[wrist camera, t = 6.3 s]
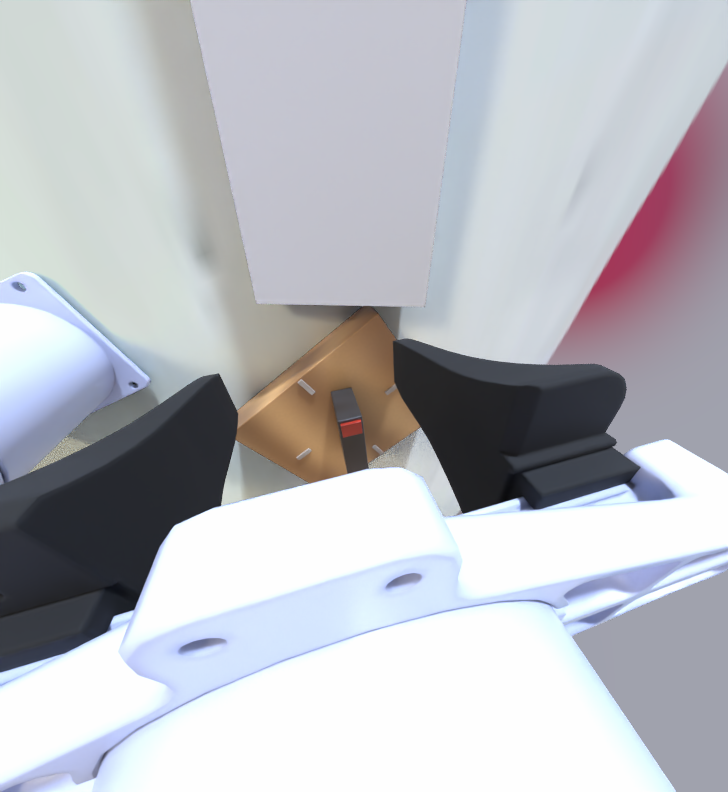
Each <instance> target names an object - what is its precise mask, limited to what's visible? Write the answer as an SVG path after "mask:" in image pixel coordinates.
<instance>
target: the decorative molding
mask: <svg viewBox="0 0 728 792" xmlns="http://www.w3.org/2000/svg"><path fill="white" fill-rule="evenodd" d="M466 1H467V0H190V3H191V7H192V12H193V16H194V21H195V26H196V30H197V35H198V39H199V44H200V49H201V53H202V58H203V62H204V67H205V71H206V76H207V81H208V85H209V90H210V94H211V99H212V103H213V108H214V113H215V117H216V122H217V126H218V131H219V135H220V140H221V145H222V149H223V154H224V158H225V163H226V167H227V172H228V177H229V181H230V186H231V190H232V195H233V200H234V204H235V209H236V213H237V218H238V222H239V227H240V232H241V236H242V241H243V245H244V250H245V254H246V259H247V264H248V268H249V273H250V277H251V282H252V286H253V291H254V296H255V300H256V304H291V305H343V306H395V307H425V304H426V296H427V289H428V282H429V274H430V267H431V259H432V252H433V245H434V237H435V230H436V223H437V215H438V208H439V200H440V193H441V186H442V178H443V171H444V164H445V156H446V149H447V141H448V134H449V127H450V119H451V112H452V104H453V97H454V90H455V82H456V75H457V68H458V60H459V53H460V45H461V38H462V31H463V23H464V16H465V9H466Z"/></svg>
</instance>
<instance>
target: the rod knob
mask: <svg viewBox="0 0 728 792" xmlns="http://www.w3.org/2000/svg"><path fill="white" fill-rule="evenodd" d="M331 397H332V402H333V407H334V412H335V417H336V422H337V427H338V432H339V437H340V442H341V447H342V452H343V456H344V461H345V465H346V470H347V474H349V473H353V472H357V471H361V470H365V469H369V467H368V459H367V451H366V443H365V435H364V427H363V419H362V414H361V412H360V409H359V406H358V404H357V401H356V398H355V395H354V393H353V390H352V388H346V389H341V390H336V391H331Z"/></svg>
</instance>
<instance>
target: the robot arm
mask: <svg viewBox="0 0 728 792" xmlns="http://www.w3.org/2000/svg"><path fill="white" fill-rule="evenodd" d="M18 282H19V283H21V284H23V285H24V286H25V287H26V290H24V289H22V288H21V287H20V286H19V284H18ZM393 364H394V382H395V385H396V387H397V389H398V391H399V393H400V396H401V398H402V399H403V401H404V402H405V404H406V406H407V407H408V409H409V410H410V412H411V413H412V415H413V416H414V418H415V419H416V421H417V422H418V424H419V425H420V427H421V428H422V430H423V431H424V433H425V434H426V436H427V438H428V439H429V441H430V443H431V445H432V447H433V449H434V451H435V453H436V455H437V457H438V459H439V461H440V463H441V466H442V468H443V470H444V472H445V474H446V476H447V478H448V481H449V483H450V485H451V487H452V490H453V492H454V494H455V496H456V499H457V501H458V503H459V506H460V508H461V511H462V513H463V514H461V515H458V516H449V517H443V516H442V514H441V512H440V510H439V508H438V506H437V504H436V502H435V500H434V498H433V497H432V495H431V493H430V491H429V489H428V487H427V485H426V483H425V481H424V479H423V477H421V476H419V475H417V474H414V473H412V472H410V471H407V470H405V469H403V468H400V467H389V468H375V469H365V470H361V471H357V472H353V473H349V474H345V475H341V476H337V477H333V478H329V479H325V480H322V481H318V482H314V483H310V484H306V485H302V486H298V487H294V488H290V489H286V490H282V491H278V492H274V493H270V494H266V495H262V496H258V497H254V498H250V499H246V500H242V501H239V502H235V503H231V504H227V505H223V506H221V501H222V494H223V488H224V483H225V479H226V475H227V471H228V467H229V463H230V459H231V455H232V452H233V448H234V444H235V440H236V435H237V427H238V412H237V410H236V408H235V406H234V404H233V402H232V400H231V397H230V395H229V393H228V391H227V389H226V387H225V385H224V383H223V381H222V379H221V377H220V375H219V374H214V375H208V376H203V377H201V378H199V379H197V380H195V381H193V382H192V383H190V384H189V385H187V386H186V387H184V388H183V389H181V390H180V391H179V392H177V393H176V394H174V395H173V396H171V397H170V398H169V399H167V400H166V401H164V402H163V403H161V404H160V405H158V406H157V407H155V408H154V409H152V410H151V411H149V412H148V413H146V414H145V415H143V416H142V417H140V418H139V419H137V420H135V421H134V422H132V423H130V424H129V425H127V426H125V427H124V428H122V429H120V430H118V431H117V432H115V433H113V434H111V435H109V436H107V437H106V438H104V439H102V440H100V441H98V442H96V443H94V444H92V445H90V446H88V447H86V448H84V449H82V450H80V451H77V452H75V453H73V454H71V455H69V456H67V457H65V458H63V459H61V460H59V461H56V462H54V463H52V464H50V465H47V466H45V467H43V468H40V469H38V470H36V471H33V472H31V473H29V472H30V471H31V470H32V469H33V468H34V467H35V466H36V465H37V464H38V463H39V462H40V461H41V460H42V459H43V458H44V457H45V456H46V455H48V454H49V453H50V452H51V451H52V450H53V449H54V448H55V447H56V446H57V445H58V444H59V443H60V442H61V441H62V440H63V439H64V438H65V437H66V436H67V435H68V434H69V433H70V432H71V431H72V430H74V429H75V428H76V427H77V426H78V425H79V424H80V423H81V422H82V421H83V420H84V419H85V418H86V417H87V416H88V415H89V414H91V413H93V412H95V411H97V410H99V409H101V408H103V407H106V406H108V405H110V404H112V403H114V402H116V401H118V400H120V399H123V398H125V397H127V396H129V395H131V394H133V393H135V392H137V391H139V390H142V389H144V388H146V387H147V386H148V385H149V384H150V382H151V380H150V378H149V377H148V376H147V375H146V374H145V373H144V372H143V371H141V370H140V369H139V368H138V367H137V366H136V365H135V364H134V363H133V362H132V361H131V360H129V359H128V358H127V357H126V356H125V355H124V354H123V353H122V352H121V351H120V350H119V349H117V348H116V347H115V346H114V345H113V344H112V343H111V342H110V341H109V340H108V339H107V338H105V337H104V336H103V335H102V334H101V333H100V332H99V331H98V330H97V329H96V328H95V327H93V326H92V325H91V324H90V323H89V322H88V321H87V320H86V319H85V318H84V317H83V316H81V315H80V314H79V313H78V312H77V311H76V310H75V309H74V308H73V307H72V306H71V305H69V304H68V303H67V302H66V301H65V300H64V299H63V298H62V297H61V296H60V295H59V294H57V293H56V292H55V291H54V290H53V289H52V288H51V287H50V286H49V285H48V284H47V283H45V282H44V281H43V280H42V279H41V278H40V277H38V276H37V275H35V274H33V273H30V272H23V273H18V274H16V275H14V276H11V277H9V278H7V279H5V280H3V281H1V282H0V792H676V791H675V789H674V788H673V786H672V785H671V783H670V782H669V780H668V779H667V777H666V776H665V775H664V773H663V772H662V770H661V769H660V767H659V766H658V764H657V763H656V761H655V760H654V758H653V757H652V755H651V754H650V752H649V751H648V749H647V748H646V747H645V745H644V743H643V742H642V740H641V739H640V737H639V736H638V735H637V733H636V732H635V730H634V729H633V727H632V726H631V724H630V723H629V721H628V720H627V718H626V717H625V715H624V714H623V712H622V711H621V709H620V708H619V706H618V705H617V704H616V702H615V700H614V699H613V697H612V696H611V695H610V693H609V692H608V690H607V689H606V687H605V686H604V684H603V683H602V681H601V680H600V678H599V677H598V675H597V674H596V672H595V671H594V669H593V668H592V666H591V665H590V663H589V662H588V661H587V659H586V657H585V656H584V655H583V653H582V652H581V650H580V649H579V647H578V646H577V644H576V643H575V641H574V640H573V638H572V637H571V636H573V635H576V634H578V633H580V632H582V631H585V630H587V629H589V628H592V627H594V626H596V625H599V624H601V623H603V622H605V621H608V620H610V619H612V618H614V617H617V616H619V615H621V614H624V613H626V612H628V611H631V610H633V609H635V608H637V607H640V606H642V605H644V604H647V603H649V602H652V601H654V600H656V599H659V598H661V597H663V596H666V595H668V594H671V593H673V592H676V591H678V590H680V589H683V588H685V587H687V586H690V585H693V584H695V583H697V582H700V581H703V580H705V579H708V578H710V577H713V576H716V575H718V574H721V573H723V572H724V571H726V570H728V474H727V473H725V472H724V471H722V470H720V469H719V468H717V467H715V466H713V465H711V464H710V463H708V462H706V461H705V460H703V459H701V458H699V457H698V456H696V455H694V454H693V453H691V452H689V451H687V450H685V449H684V448H682V447H680V446H679V445H677V444H675V443H674V442H672V441H670V440H661V441H657V442H653V443H650V444H646V445H643V446H639V447H636V448H633V449H631V450H629V451H628V452H626V453H625V454H624V455H622V454H621V453H620V452H618V451H617V450H615V449H614V448H613V447H612V446H615V444H616V443H617V442H616V439H614V438H613V437H611V436H610V435H608V434H607V433H605V432H606V430H607V429H608V427H609V425H610V424H611V422H612V420H613V419H614V417H615V415H616V414H617V412H618V410H619V409H620V407H621V404H622V403H623V401H624V398H625V394H626V383H625V379H624V378H623V377H622V376H621V375H620V374H618V373H616V372H614V371H612V370H610V369H608V368H606V367H603V366H601V365H597V364H575V365H574V364H573V365H536V364H518V363H508V362H498V361H491V360H485V359H479V358H474V357H469V356H465V355H461V354H457V353H453V352H450V351H446V350H443V349H440V348H437V347H434V346H431V345H428V344H425V343H422V342H419V341H415V340H412V339H401V340H395V341H393ZM132 382H135V383H136V384H137V385H138V386H136V385H134V384H132ZM28 473H29V474H28Z"/></svg>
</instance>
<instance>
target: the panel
mask: <svg viewBox="0 0 728 792" xmlns="http://www.w3.org/2000/svg"><path fill="white" fill-rule="evenodd" d="M395 340H397V339H396V338H395V337H394V335H393V334H392V332H391V331H390V330H389V328H388V327H387V325H386V324H385V322H384V321H383V320H382V318H381V317H380V315H379V314H378V313H377V312H376V311H375V310H374V309H373V308H372V307H371V306H363V307H361V308H360V309H359V310H358V311H357V312H355V313H354V314H353V315H352V316H351V317H349V318H348V319H347V320H346V321H345V322H343V323H342V324H341V325H340V326H339V327H337V328H336V329H335V330H334V331H333V332H331V333H330V334H329V335H328V336H327V337H325V338H324V339H323V340H322V341H321V342H319V343H318V344H317V345H316V346H315V347H313V348H312V349H311V350H310V351H308V352H307V353H306V354H305V355H304V356H302V357H301V358H300V359H299V360H298V361H296V362H295V363H294V364H293V365H292V366H290V367H289V368H288V369H287V370H286V371H284V372H283V373H282V374H281V375H280V376H278V377H277V378H276V379H275V380H274V381H272V382H271V383H270V384H269V385H268V386H266V387H265V388H264V389H263V390H262V391H260V392H259V393H258V394H257V395H256V396H254V397H253V398H252V399H251V400H250V401H248V402H247V403H246V404H245V405H243V406H242V407H241V408H240V409H239V410H237V412H238V427H237V435H236V440H237V441H238V442H240V443H242V444H243V445H245V446H247V447H248V448H250V449H252V450H254V451H255V452H257V453H259V454H260V455H262V456H264V457H266V458H267V459H269V460H271V461H272V462H274V463H276V464H278V465H279V466H281V467H283V468H284V469H286V470H288V471H290V472H291V473H293V474H295V475H296V476H298V477H300V478H301V479H303V480H305V481H307V482H308V483H314V482H318V481H322V480H325V479H329V478H333V477H337V476H341V475H345V474H347V470H346V465H345V461H344V456H343V452H342V447H341V442H340V437H339V432H338V427H337V422H336V417H335V412H334V407H333V402H332V397H331V391H336V390H341V389H346V388H352V390H353V393H354V395H355V398H356V401H357V404H358V406H359V409H360V412H361V414H362V419H363V427H364V435H365V443H366V451H367V459H368V463H369V462H371V461H372V460H374V459H375V458H377V457H378V456H379V455H382V454H383V453H384V452H385V451H387V450H388V449H390V448H391V447H392V446H394V445H395V444H397V443H398V442H400V441H401V440H403V439H404V438H405V437H407V436H408V435H410V434H411V433H413V432H414V431H416V430H417V429H418V428H420V425H419V424H418V422H417V421H416V419H415V418H414V416H413V415H412V413H411V412H410V410H409V409H408V407H407V406H406V404H405V402H404V401H403V399H402V398H401V396H400V393H399V391H398V389H397V387H396V385H395V382H394V364H393V341H395Z"/></svg>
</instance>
